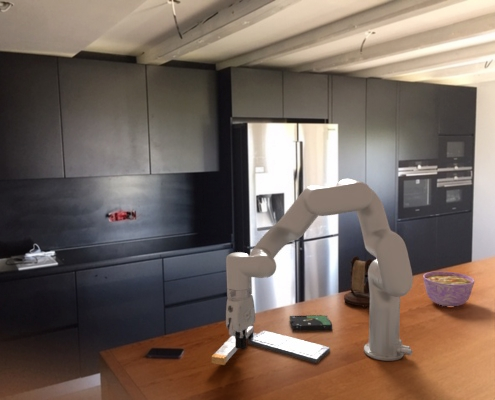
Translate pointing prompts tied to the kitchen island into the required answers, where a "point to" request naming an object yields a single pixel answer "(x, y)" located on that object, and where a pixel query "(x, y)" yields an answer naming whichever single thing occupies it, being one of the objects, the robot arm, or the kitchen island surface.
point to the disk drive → (310, 323)
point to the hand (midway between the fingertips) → (241, 348)
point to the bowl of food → (448, 287)
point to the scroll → (359, 283)
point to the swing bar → (228, 349)
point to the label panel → (289, 346)
